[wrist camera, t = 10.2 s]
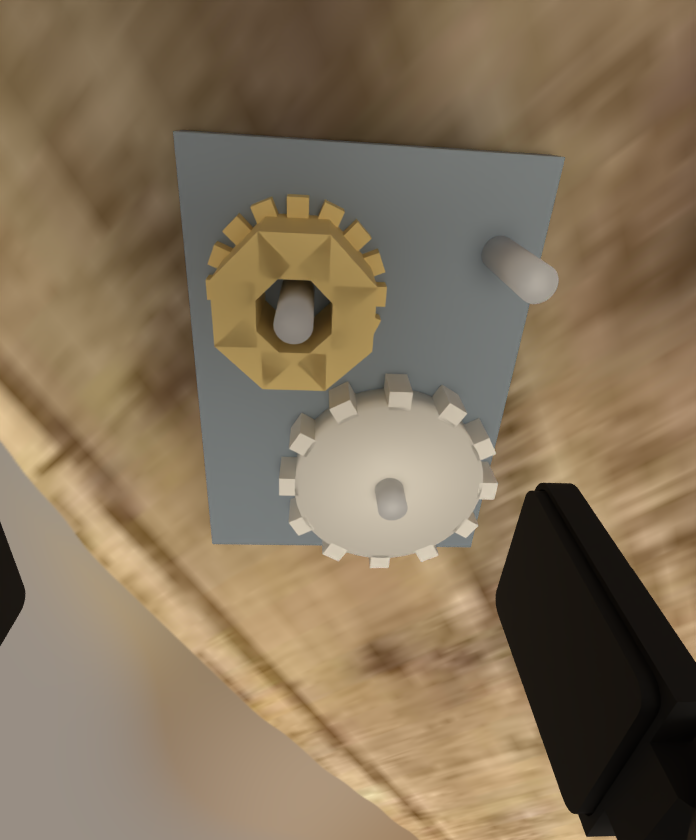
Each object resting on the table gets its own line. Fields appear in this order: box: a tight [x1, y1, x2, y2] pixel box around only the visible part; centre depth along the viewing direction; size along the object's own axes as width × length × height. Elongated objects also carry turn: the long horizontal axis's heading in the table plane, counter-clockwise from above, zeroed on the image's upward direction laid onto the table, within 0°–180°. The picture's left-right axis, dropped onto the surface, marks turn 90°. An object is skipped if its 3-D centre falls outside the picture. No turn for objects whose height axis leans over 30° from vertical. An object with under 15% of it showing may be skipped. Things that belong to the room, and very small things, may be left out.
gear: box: [206, 194, 387, 391], centre depth 22 cm, size 8×8×4 cm
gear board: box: [173, 130, 565, 568], centre depth 25 cm, size 22×16×6 cm
